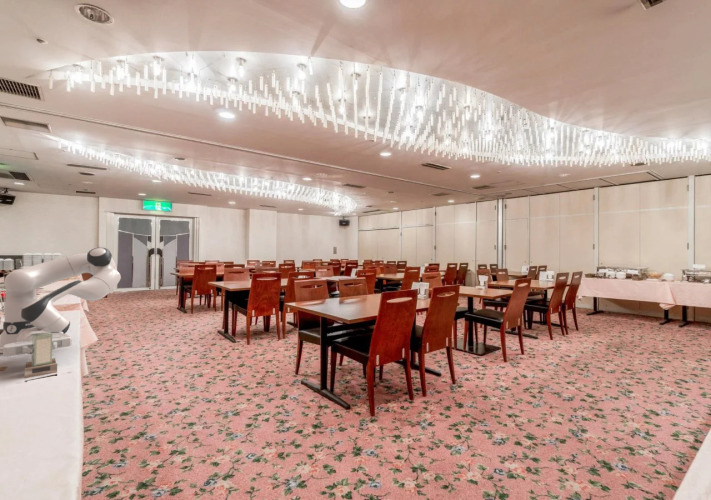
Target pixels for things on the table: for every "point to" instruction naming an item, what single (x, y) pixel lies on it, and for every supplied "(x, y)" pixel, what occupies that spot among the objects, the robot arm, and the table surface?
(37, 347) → the tea tin
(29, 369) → the shelf board
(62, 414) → the table surface
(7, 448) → the table surface
